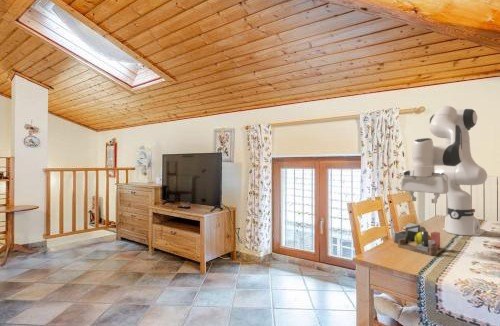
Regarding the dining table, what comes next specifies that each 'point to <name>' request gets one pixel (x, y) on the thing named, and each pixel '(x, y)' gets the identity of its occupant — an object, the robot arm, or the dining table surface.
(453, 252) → the dining table surface
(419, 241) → the tennis ball
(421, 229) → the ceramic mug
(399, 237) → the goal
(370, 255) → the dining table surface
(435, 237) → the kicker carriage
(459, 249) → the dining table surface
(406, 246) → the track
